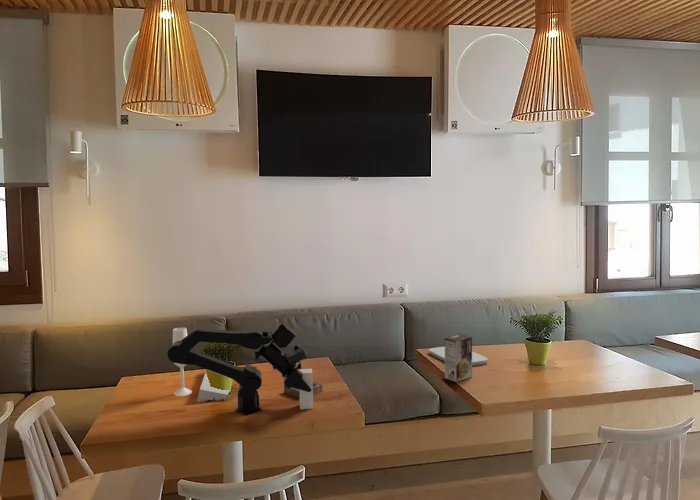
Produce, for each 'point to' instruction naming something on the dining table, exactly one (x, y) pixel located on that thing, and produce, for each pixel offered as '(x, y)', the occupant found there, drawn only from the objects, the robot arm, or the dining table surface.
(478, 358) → the tablet
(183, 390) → the champagne flute
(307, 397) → the clay block
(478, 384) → the dining table surface
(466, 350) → the coffee box
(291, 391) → the rectangular frame
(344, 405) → the dining table surface
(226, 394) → the decorative molding
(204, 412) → the dining table surface
